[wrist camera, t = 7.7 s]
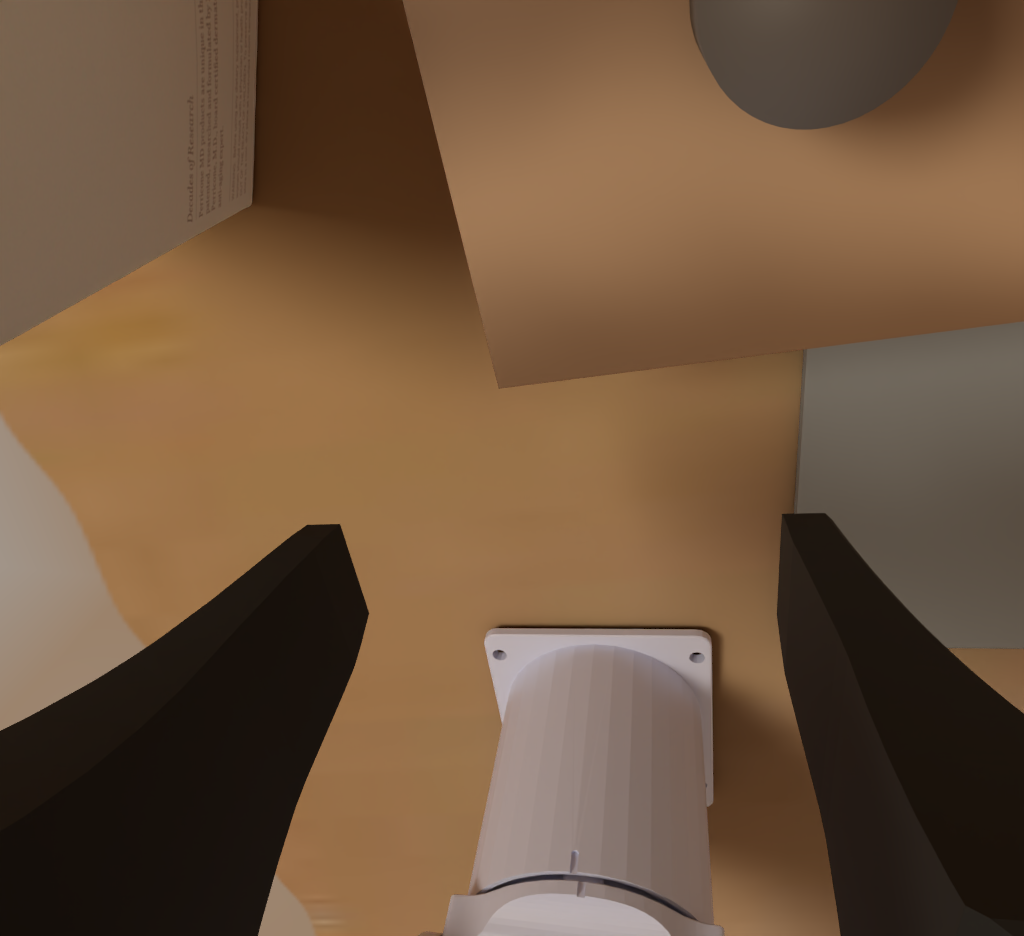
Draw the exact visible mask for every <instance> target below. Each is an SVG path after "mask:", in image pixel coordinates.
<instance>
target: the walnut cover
mask: <svg viewBox="0 0 1024 936" xmlns="http://www.w3.org/2000/svg"><path fill="white" fill-rule="evenodd" d="M402 1H403V5H404V9H405V13H406V17H407V21H408V25H409V29H410V33H411V37H412V41H413V45H414V49H415V53H416V57H417V61H418V65H419V69H420V73H421V77H422V81H423V85H424V89H425V93H426V97H427V101H428V105H429V109H430V113H431V117H432V121H433V125H434V129H435V134H436V138H437V142H438V146H439V150H440V154H441V158H442V162H443V166H444V170H445V174H446V178H447V182H448V186H449V190H450V194H451V198H452V202H453V206H454V210H455V214H456V218H457V222H458V226H459V230H460V234H461V238H462V242H463V246H464V250H465V254H466V258H467V262H468V266H469V271H470V275H471V279H472V283H473V287H474V291H475V295H476V299H477V303H478V307H479V311H480V315H481V319H482V323H483V327H484V331H485V335H486V339H487V343H488V347H489V351H490V355H491V359H492V363H493V367H494V371H495V375H496V379H497V383H498V387H499V389H500V388H507V387H515V386H523V385H531V384H539V383H546V382H554V381H562V380H570V379H578V378H586V377H593V376H601V375H609V374H617V373H625V372H632V371H640V370H648V369H656V368H664V367H672V366H679V365H687V364H695V363H703V362H711V361H718V360H726V359H734V358H742V357H750V356H758V355H765V354H773V353H781V352H789V351H797V350H804V349H812V348H820V347H828V346H836V345H844V344H851V343H859V342H867V341H875V340H883V339H890V338H898V337H906V336H914V335H922V334H930V333H937V332H945V331H953V330H961V329H969V328H976V327H984V326H992V325H1000V324H1008V323H1016V322H1023V321H1024V0H402Z"/></svg>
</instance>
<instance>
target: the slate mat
mask: <svg viewBox="0 0 1024 936" xmlns="http://www.w3.org/2000/svg"><path fill="white" fill-rule="evenodd" d="M800 513H826V514H827V515H828V516H829V517H830V518H831V519H832V520H833V521H834V523H835V524H836V525H837V527H838V528H839V529H840V531H841V532H842V533H843V534H844V536H845V537H846V538H847V540H848V541H849V542H850V543H851V545H852V546H853V547H854V548H855V550H856V551H857V552H858V553H859V555H860V556H861V557H862V558H863V559H864V561H865V562H866V563H867V564H868V565H869V567H870V568H871V569H872V570H873V571H874V572H875V574H876V575H877V576H878V577H879V578H880V579H881V580H882V582H883V583H884V584H885V585H886V586H887V587H888V588H889V589H890V590H891V591H892V593H893V594H894V595H895V596H896V597H897V598H898V599H899V600H900V601H901V602H902V603H903V604H904V606H905V607H906V608H907V609H908V610H909V611H910V612H911V613H912V614H913V615H914V616H915V617H916V618H917V619H918V620H919V621H920V622H921V623H922V624H923V625H924V626H925V627H926V628H927V629H928V630H929V631H930V632H931V633H932V634H933V635H934V636H935V637H936V638H937V639H938V640H939V641H940V642H941V643H942V644H943V645H944V646H945V647H946V648H1005V649H1024V321H1023V322H1016V323H1008V324H1000V325H992V326H984V327H976V328H969V329H961V330H953V331H945V332H937V333H930V334H922V335H914V336H906V337H898V338H890V339H883V340H875V341H867V342H859V343H851V344H844V345H836V346H828V347H820V348H812V349H804V352H803V369H802V386H801V402H800V419H799V436H798V453H797V470H796V487H795V503H794V514H800Z"/></svg>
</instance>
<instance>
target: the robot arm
mask: <svg viewBox="0 0 1024 936" xmlns="http://www.w3.org/2000/svg"><path fill="white" fill-rule="evenodd" d="M368 615H369V612H368V609H367V605H366V602H365V599H364V596H363V593H362V590H361V587H360V584H359V581H358V578H357V575H356V572H355V569H354V566H353V563H352V560H351V557H350V554H349V550H348V547H347V544H346V541H345V538H344V535H343V532H342V529H341V526H340V524H327V525H307V526H305V527H304V528H302V529H301V530H299V531H298V532H296V533H295V534H294V535H292V536H291V537H290V538H289V539H287V540H286V541H285V542H283V543H282V544H281V545H280V546H278V547H277V548H276V549H275V550H273V551H272V552H271V553H270V554H268V555H267V556H266V557H265V558H263V559H262V560H261V561H260V562H258V563H257V564H256V565H255V566H254V567H252V568H251V569H250V570H249V571H247V572H246V573H245V574H244V575H242V576H241V577H240V578H239V579H237V580H236V581H235V582H234V583H232V584H231V585H230V586H229V587H227V588H226V589H225V590H224V591H222V592H221V593H220V594H219V595H217V596H216V597H215V598H213V599H212V600H211V601H210V602H208V603H207V604H206V605H204V606H203V607H201V608H200V609H199V610H197V611H196V612H195V613H193V614H192V615H191V616H189V617H188V618H187V619H185V620H184V621H183V622H181V623H180V624H179V625H177V626H176V627H175V628H173V629H172V630H170V631H169V632H168V633H166V634H165V635H164V636H162V637H161V638H160V639H158V640H157V641H155V642H154V643H152V644H151V645H149V646H148V647H146V648H145V649H143V650H142V651H140V652H139V653H137V654H136V655H134V656H133V657H131V658H130V659H128V660H127V661H125V662H124V663H122V664H120V665H119V666H118V667H115V668H114V669H112V670H111V671H109V672H108V673H106V674H104V675H103V676H101V677H99V678H98V679H96V680H94V681H93V682H91V683H89V684H88V685H86V686H84V687H82V688H80V689H79V690H77V691H75V692H73V693H71V694H69V695H68V696H66V697H64V698H62V699H60V700H59V701H57V702H55V703H53V704H51V705H49V706H48V707H46V708H44V709H42V710H40V711H39V712H37V713H35V714H33V715H31V716H29V717H27V718H25V719H24V720H22V721H20V722H17V723H16V724H13V725H11V726H9V727H7V728H5V729H3V730H1V731H0V936H258V933H259V929H260V925H261V921H262V917H263V914H264V911H265V907H266V903H267V900H268V896H269V893H270V889H271V886H272V882H273V879H274V875H275V872H276V868H277V865H278V861H279V858H280V855H281V852H282V849H283V845H284V842H285V839H286V836H287V833H288V830H289V826H290V823H291V820H292V817H293V814H294V810H295V807H296V805H297V802H298V799H299V797H300V794H301V792H302V789H303V786H304V784H305V781H306V779H307V777H308V774H309V772H310V770H311V767H312V765H313V763H314V760H315V758H316V756H317V753H318V751H319V749H320V746H321V744H322V742H323V740H324V737H325V735H326V733H327V730H328V728H329V726H330V723H331V721H332V719H333V716H334V714H335V712H336V710H337V707H338V705H339V702H340V700H341V698H342V695H343V693H344V691H345V688H346V686H347V683H348V681H349V679H350V676H351V674H352V671H353V669H354V666H355V663H356V660H357V656H358V653H359V649H360V646H361V643H362V639H363V635H364V631H365V627H366V623H367V619H368ZM777 618H778V626H779V634H780V642H781V650H782V657H783V664H784V671H785V676H786V680H787V684H788V688H789V692H790V696H791V700H792V704H793V708H794V712H795V716H796V720H797V724H798V727H799V731H800V735H801V739H802V743H803V747H804V751H805V754H806V758H807V762H808V766H809V770H810V774H811V778H812V781H813V785H814V789H815V793H816V797H817V801H818V805H819V809H820V813H821V818H822V823H823V827H824V832H825V837H826V842H827V848H828V855H829V861H830V868H831V874H832V880H833V887H834V893H835V900H836V906H837V913H838V920H839V926H840V933H841V936H1024V713H1022V712H1021V711H1020V710H1018V709H1017V708H1016V707H1014V706H1013V705H1012V704H1011V703H1009V702H1008V701H1007V700H1006V699H1005V698H1003V697H1002V696H1001V695H1000V694H998V693H997V692H996V691H995V690H994V689H992V688H991V687H990V686H989V685H988V684H986V683H985V682H984V681H983V680H982V679H981V678H979V677H978V676H977V675H976V674H975V673H974V672H973V671H971V670H970V669H969V668H968V667H967V666H966V665H965V664H964V663H962V662H961V661H960V660H959V659H958V658H957V657H956V656H955V655H954V654H953V653H952V652H950V651H949V650H948V649H947V648H946V647H945V646H944V645H943V644H942V643H941V642H940V641H939V640H938V639H937V638H936V637H935V636H934V635H933V634H932V633H931V632H930V631H929V630H928V629H927V628H926V627H925V626H924V625H923V624H922V623H921V622H920V621H919V620H918V619H917V618H916V617H915V616H914V615H913V614H912V613H911V612H910V611H909V610H908V609H907V608H906V607H905V606H904V604H903V603H902V602H901V601H900V600H899V599H898V598H897V597H896V596H895V595H894V594H893V593H892V591H891V590H890V589H889V588H888V587H887V586H886V585H885V584H884V583H883V582H882V580H881V579H880V578H879V577H878V576H877V575H876V574H875V572H874V571H873V570H872V569H871V568H870V567H869V565H868V564H867V563H866V562H865V561H864V559H863V558H862V557H861V556H860V555H859V553H858V552H857V551H856V550H855V548H854V547H853V546H852V545H851V543H850V542H849V541H848V540H847V538H846V537H845V536H844V534H843V533H842V532H841V531H840V529H839V528H838V527H837V525H836V524H835V523H834V521H833V520H832V519H831V518H830V517H829V516H828V515H827V514H826V513H800V514H782V525H781V545H780V564H779V584H778V603H777ZM484 644H485V649H486V653H487V658H488V662H489V667H490V671H491V676H492V680H493V685H494V689H495V694H496V698H497V703H498V707H499V712H500V716H501V721H502V730H501V735H500V739H499V744H498V749H497V754H496V759H495V764H494V769H493V774H492V779H491V784H490V789H489V793H488V798H487V803H486V808H485V813H484V818H483V823H482V828H481V833H480V838H479V843H478V847H477V852H476V857H475V862H474V867H473V872H472V877H471V882H470V887H469V892H468V895H458V894H454V895H452V896H451V900H450V904H449V909H448V913H447V918H446V922H445V927H444V931H443V933H436V932H428V931H426V932H423V933H421V934H419V935H418V936H725V935H724V928H723V927H721V926H719V925H714V917H713V900H712V884H711V867H710V851H709V834H708V818H707V807H708V806H710V805H711V804H712V803H713V710H712V642H711V637H710V635H709V634H708V633H707V632H705V631H702V630H697V629H551V628H495V629H491V630H489V631H488V632H487V634H486V637H485V642H484ZM497 650H502V651H504V652H499V651H497ZM696 652H698V653H702V654H699V655H695V654H692V653H696Z"/></svg>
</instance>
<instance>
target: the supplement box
mask: <svg viewBox="0 0 1024 936" xmlns="http://www.w3.org/2000/svg"><path fill="white" fill-rule="evenodd" d="M257 30H258V0H0V346H1V345H2V344H4V343H6V342H8V341H10V340H12V339H14V338H15V337H17V336H19V335H21V334H23V333H24V332H26V331H28V330H30V329H31V328H33V327H35V326H37V325H39V324H40V323H42V322H44V321H46V320H47V319H49V318H51V317H53V316H54V315H56V314H58V313H60V312H61V311H63V310H65V309H67V308H69V307H70V306H72V305H74V304H76V303H78V302H79V301H81V300H83V299H85V298H87V297H88V296H90V295H92V294H94V293H96V292H97V291H99V290H101V289H103V288H105V287H106V286H108V285H110V284H111V283H113V282H115V281H117V280H119V279H121V278H123V277H124V276H126V275H128V274H130V273H131V272H133V271H135V270H136V269H138V268H140V267H142V266H143V265H145V264H147V263H149V262H150V261H152V260H154V259H156V258H158V257H159V256H161V255H163V254H165V253H166V252H168V251H170V250H172V249H173V248H175V247H177V246H179V245H181V244H182V243H184V242H186V241H188V240H190V239H191V238H193V237H195V236H197V235H199V234H200V233H202V232H204V231H206V230H208V229H209V228H211V227H213V226H215V225H216V224H218V223H220V222H222V221H223V220H225V219H227V218H229V217H231V216H232V215H234V214H236V213H238V212H239V211H241V210H243V209H245V208H247V207H250V205H251V204H252V194H253V168H254V131H255V105H256V64H257Z"/></svg>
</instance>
